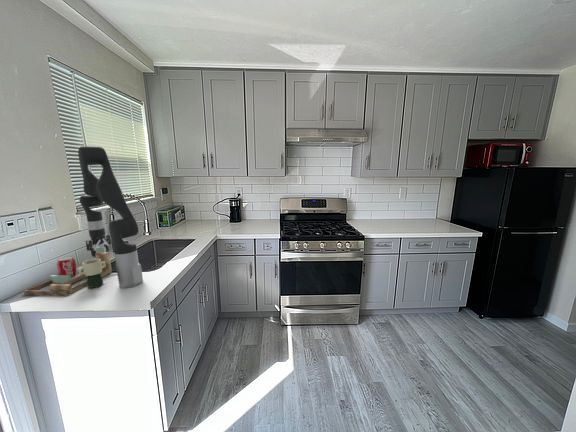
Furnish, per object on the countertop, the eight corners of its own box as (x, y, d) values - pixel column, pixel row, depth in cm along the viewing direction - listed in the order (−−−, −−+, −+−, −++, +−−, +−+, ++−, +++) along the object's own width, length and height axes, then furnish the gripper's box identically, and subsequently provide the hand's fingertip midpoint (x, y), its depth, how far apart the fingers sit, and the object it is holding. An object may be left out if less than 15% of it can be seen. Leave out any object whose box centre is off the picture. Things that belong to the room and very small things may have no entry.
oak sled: (114, 271, 134) (111, 252, 132) (69, 293, 109) (65, 271, 107) (98, 270, 135) (95, 252, 133) (51, 293, 110) (46, 270, 108)
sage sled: (110, 264, 144) (107, 247, 142) (69, 283, 119) (65, 263, 117) (95, 264, 145) (92, 246, 143) (51, 283, 120) (47, 262, 118)
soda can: (82, 277, 127) (78, 255, 125) (70, 283, 120) (65, 260, 118) (69, 277, 127) (64, 256, 125) (56, 283, 120) (51, 261, 118)
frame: (108, 274, 130) (107, 271, 129) (67, 296, 107) (66, 292, 107) (72, 273, 131) (71, 270, 131) (24, 294, 109) (23, 290, 109)
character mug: (104, 280, 123) (100, 256, 121) (111, 282, 120) (108, 258, 118) (78, 289, 114) (74, 263, 112) (86, 292, 111) (81, 266, 108)
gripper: (91, 230, 132) (96, 258, 135) (112, 225, 146) (116, 250, 149) (79, 231, 133) (84, 258, 136) (100, 225, 147) (105, 250, 150)
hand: (100, 254), depth 142 cm, fingers open, 8 cm apart
